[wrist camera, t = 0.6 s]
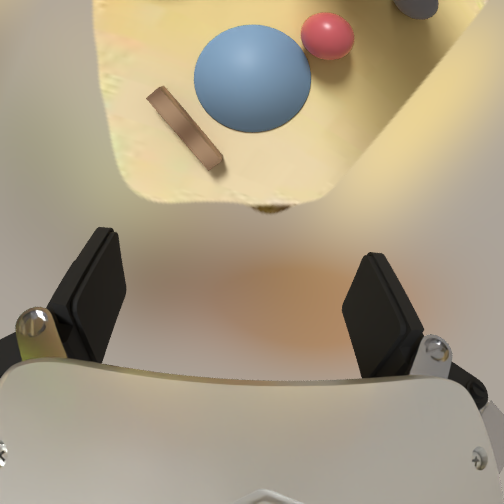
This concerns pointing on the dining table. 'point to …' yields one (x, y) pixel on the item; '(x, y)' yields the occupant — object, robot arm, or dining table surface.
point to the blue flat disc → (252, 78)
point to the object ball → (327, 36)
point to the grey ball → (417, 8)
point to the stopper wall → (185, 127)
